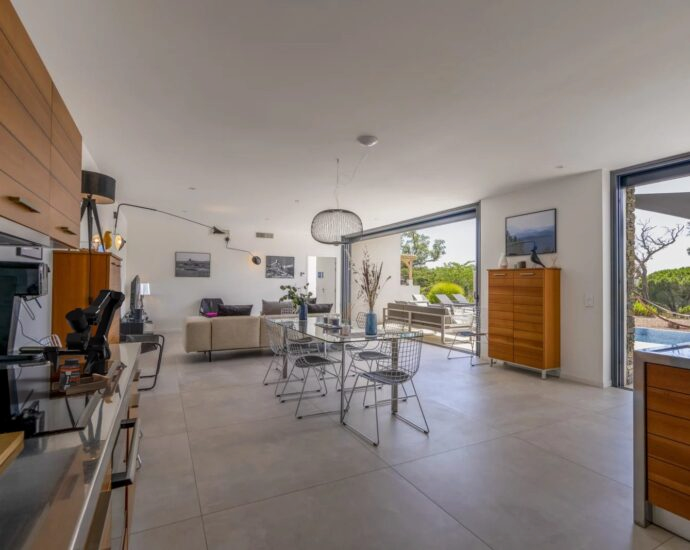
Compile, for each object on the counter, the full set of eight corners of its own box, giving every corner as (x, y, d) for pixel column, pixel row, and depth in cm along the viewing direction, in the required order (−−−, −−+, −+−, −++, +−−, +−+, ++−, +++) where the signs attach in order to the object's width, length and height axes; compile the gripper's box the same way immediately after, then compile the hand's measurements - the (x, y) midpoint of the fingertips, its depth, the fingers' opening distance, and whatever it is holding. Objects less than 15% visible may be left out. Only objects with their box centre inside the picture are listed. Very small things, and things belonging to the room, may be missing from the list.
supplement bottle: (70, 393, 128) (73, 361, 129) (54, 392, 128) (56, 360, 129) (83, 389, 134) (85, 358, 135) (67, 388, 134) (69, 357, 135)
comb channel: (51, 390, 131) (52, 380, 131) (94, 382, 144) (95, 373, 144) (66, 395, 126) (67, 384, 126) (109, 386, 139) (110, 377, 139)
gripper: (46, 324, 132) (31, 360, 122) (106, 324, 140) (97, 358, 129) (51, 342, 139) (38, 378, 129) (109, 342, 147) (100, 376, 136)
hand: (69, 372), depth 130 cm, fingers open, 8 cm apart
